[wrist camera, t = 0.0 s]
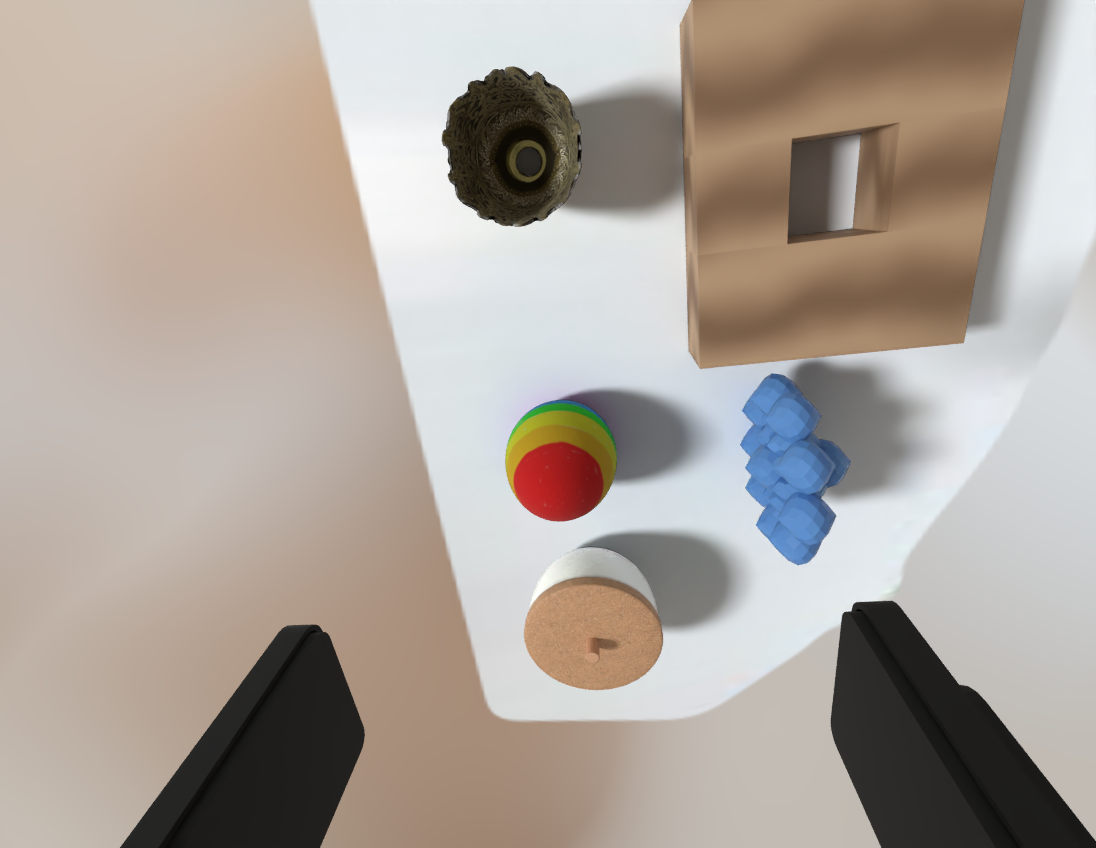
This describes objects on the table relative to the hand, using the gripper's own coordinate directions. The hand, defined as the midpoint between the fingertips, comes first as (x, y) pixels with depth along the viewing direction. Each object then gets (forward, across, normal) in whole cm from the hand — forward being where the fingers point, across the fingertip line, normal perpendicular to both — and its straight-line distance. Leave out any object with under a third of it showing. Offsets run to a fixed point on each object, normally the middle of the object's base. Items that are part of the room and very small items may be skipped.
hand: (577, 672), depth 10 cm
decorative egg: (+32, +3, +9) cm, 33 cm away
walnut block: (+31, -15, -7) cm, 35 cm away
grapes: (+31, -13, +10) cm, 35 cm away
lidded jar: (+32, +2, +23) cm, 39 cm away
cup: (+31, +3, -11) cm, 33 cm away
